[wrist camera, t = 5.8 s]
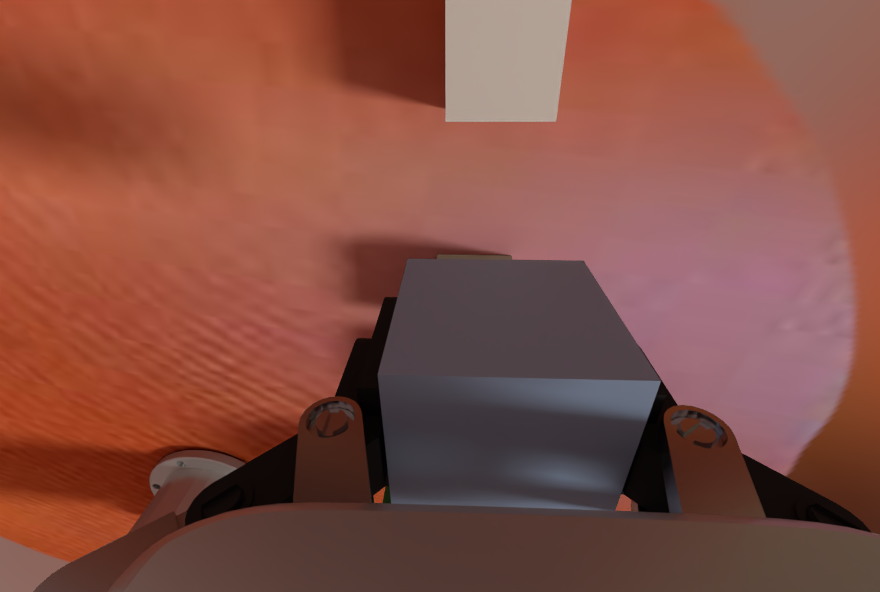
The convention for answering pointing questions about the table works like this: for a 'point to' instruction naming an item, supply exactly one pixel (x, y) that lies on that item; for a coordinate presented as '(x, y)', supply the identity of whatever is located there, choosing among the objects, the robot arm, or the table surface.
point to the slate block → (510, 387)
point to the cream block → (504, 59)
